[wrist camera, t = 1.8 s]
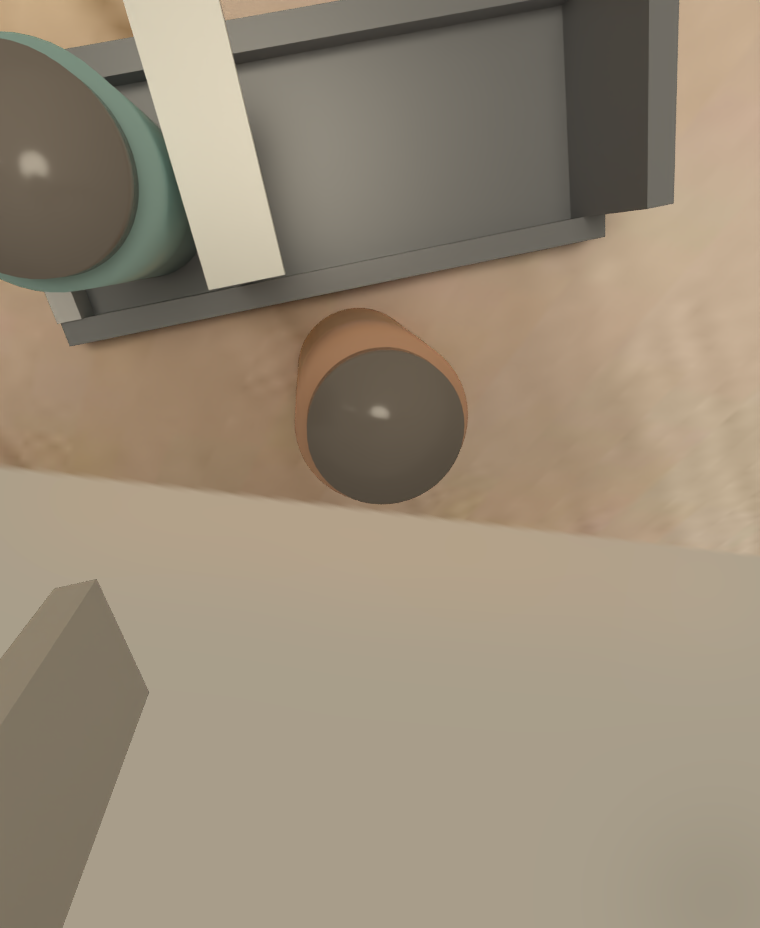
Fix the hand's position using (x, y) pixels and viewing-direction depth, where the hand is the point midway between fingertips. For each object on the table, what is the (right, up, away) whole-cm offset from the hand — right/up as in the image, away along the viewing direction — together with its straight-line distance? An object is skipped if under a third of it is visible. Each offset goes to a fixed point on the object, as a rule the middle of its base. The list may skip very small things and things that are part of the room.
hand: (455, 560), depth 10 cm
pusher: (-7, +14, +12) cm, 19 cm away
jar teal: (-12, +13, +12) cm, 21 cm away
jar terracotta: (-3, +7, +16) cm, 18 cm away
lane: (-4, +15, +13) cm, 20 cm away
